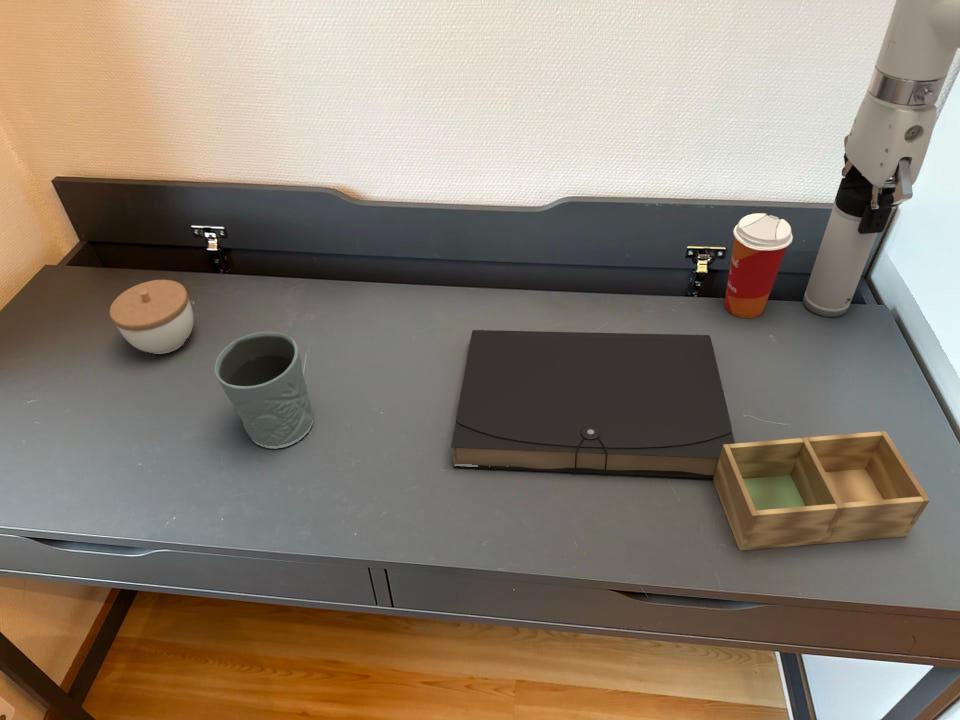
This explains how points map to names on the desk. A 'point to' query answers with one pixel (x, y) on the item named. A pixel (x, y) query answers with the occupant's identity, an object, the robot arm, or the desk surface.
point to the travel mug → (842, 251)
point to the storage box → (817, 490)
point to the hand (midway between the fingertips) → (857, 216)
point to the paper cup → (755, 262)
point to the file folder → (592, 404)
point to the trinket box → (154, 315)
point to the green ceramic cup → (266, 386)
